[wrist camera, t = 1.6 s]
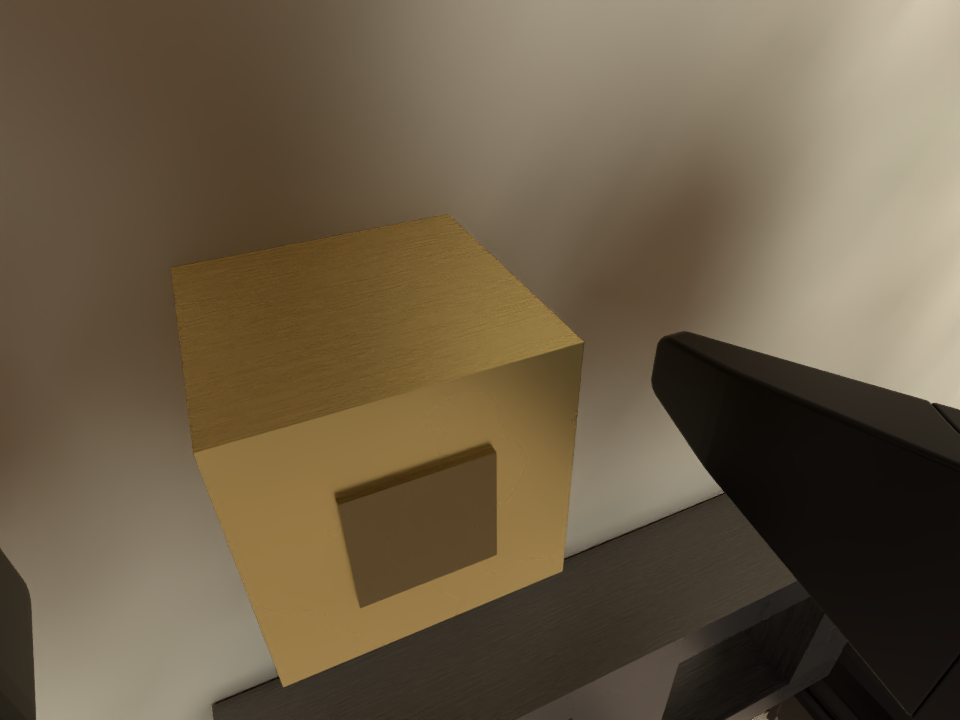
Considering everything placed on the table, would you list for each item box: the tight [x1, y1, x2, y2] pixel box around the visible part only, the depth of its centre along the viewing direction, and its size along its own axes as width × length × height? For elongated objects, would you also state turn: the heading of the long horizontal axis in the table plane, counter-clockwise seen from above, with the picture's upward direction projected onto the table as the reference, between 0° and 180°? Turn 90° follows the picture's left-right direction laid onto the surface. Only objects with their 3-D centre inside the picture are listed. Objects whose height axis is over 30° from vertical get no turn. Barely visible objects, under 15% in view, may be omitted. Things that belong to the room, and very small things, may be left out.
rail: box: [212, 494, 848, 720], centre depth 18 cm, size 18×8×3 cm, turn 91°
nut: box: [171, 214, 584, 687], centre depth 9 cm, size 4×4×4 cm
